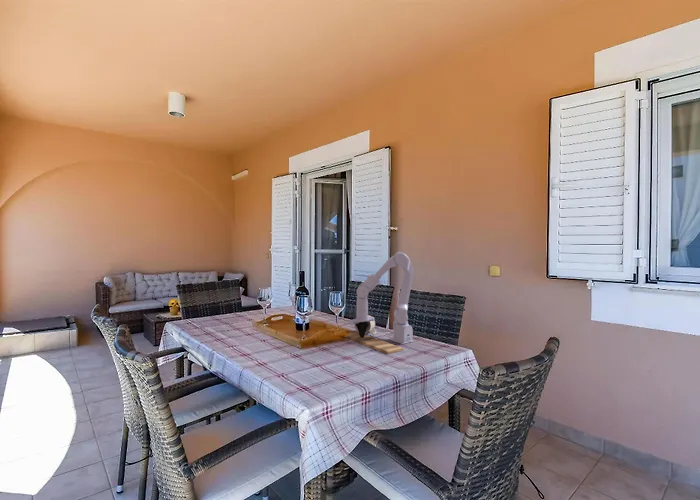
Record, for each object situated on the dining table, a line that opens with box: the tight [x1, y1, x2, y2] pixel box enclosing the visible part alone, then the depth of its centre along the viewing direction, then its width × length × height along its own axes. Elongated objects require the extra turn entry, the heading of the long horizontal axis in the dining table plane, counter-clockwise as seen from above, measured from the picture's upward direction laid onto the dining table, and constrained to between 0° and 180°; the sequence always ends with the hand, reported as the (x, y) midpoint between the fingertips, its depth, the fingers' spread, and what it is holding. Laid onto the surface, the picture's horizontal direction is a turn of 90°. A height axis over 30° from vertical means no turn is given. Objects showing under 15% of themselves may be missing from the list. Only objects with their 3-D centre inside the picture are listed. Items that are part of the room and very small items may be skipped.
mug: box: [354, 314, 378, 337], centre depth 195 cm, size 12×9×11 cm
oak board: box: [359, 336, 404, 355], centre depth 172 cm, size 20×9×2 cm, turn 36°
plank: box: [345, 330, 374, 344], centre depth 187 cm, size 16×9×2 cm, turn 36°
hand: (361, 336), depth 183 cm, fingers closed
